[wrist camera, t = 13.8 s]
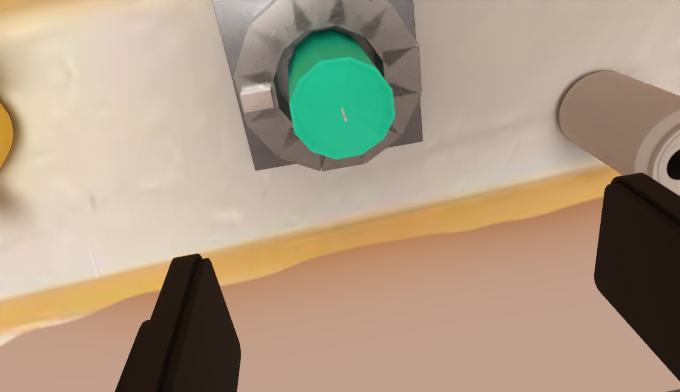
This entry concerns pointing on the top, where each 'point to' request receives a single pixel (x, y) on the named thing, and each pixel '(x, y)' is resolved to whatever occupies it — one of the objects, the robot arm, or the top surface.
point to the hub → (275, 54)
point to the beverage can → (625, 125)
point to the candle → (337, 96)
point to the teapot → (5, 134)
